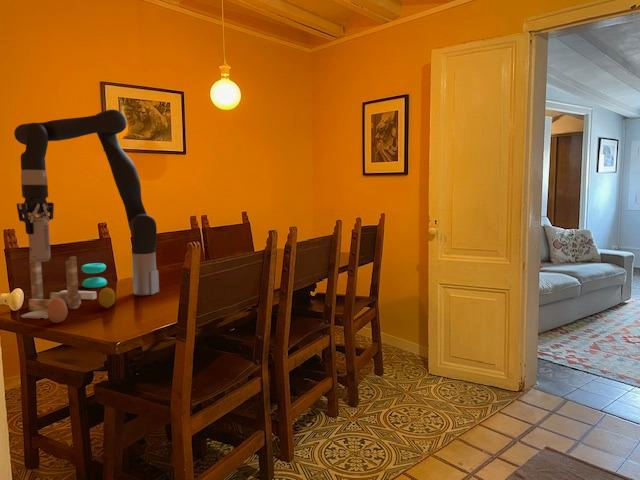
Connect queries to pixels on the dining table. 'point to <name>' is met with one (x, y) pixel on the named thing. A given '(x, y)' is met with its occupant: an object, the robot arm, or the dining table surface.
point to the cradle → (37, 292)
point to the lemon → (106, 297)
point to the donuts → (95, 281)
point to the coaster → (36, 314)
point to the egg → (57, 310)
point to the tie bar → (85, 294)
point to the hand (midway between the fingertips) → (37, 233)
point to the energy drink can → (40, 240)
